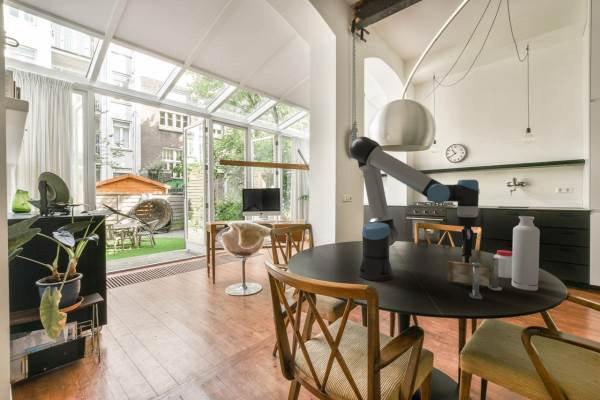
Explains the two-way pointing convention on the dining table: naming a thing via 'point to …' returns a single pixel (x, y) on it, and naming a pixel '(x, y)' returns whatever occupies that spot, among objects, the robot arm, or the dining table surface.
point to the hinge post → (495, 275)
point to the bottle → (525, 254)
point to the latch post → (476, 281)
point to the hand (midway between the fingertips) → (466, 271)
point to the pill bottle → (504, 263)
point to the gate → (467, 273)
